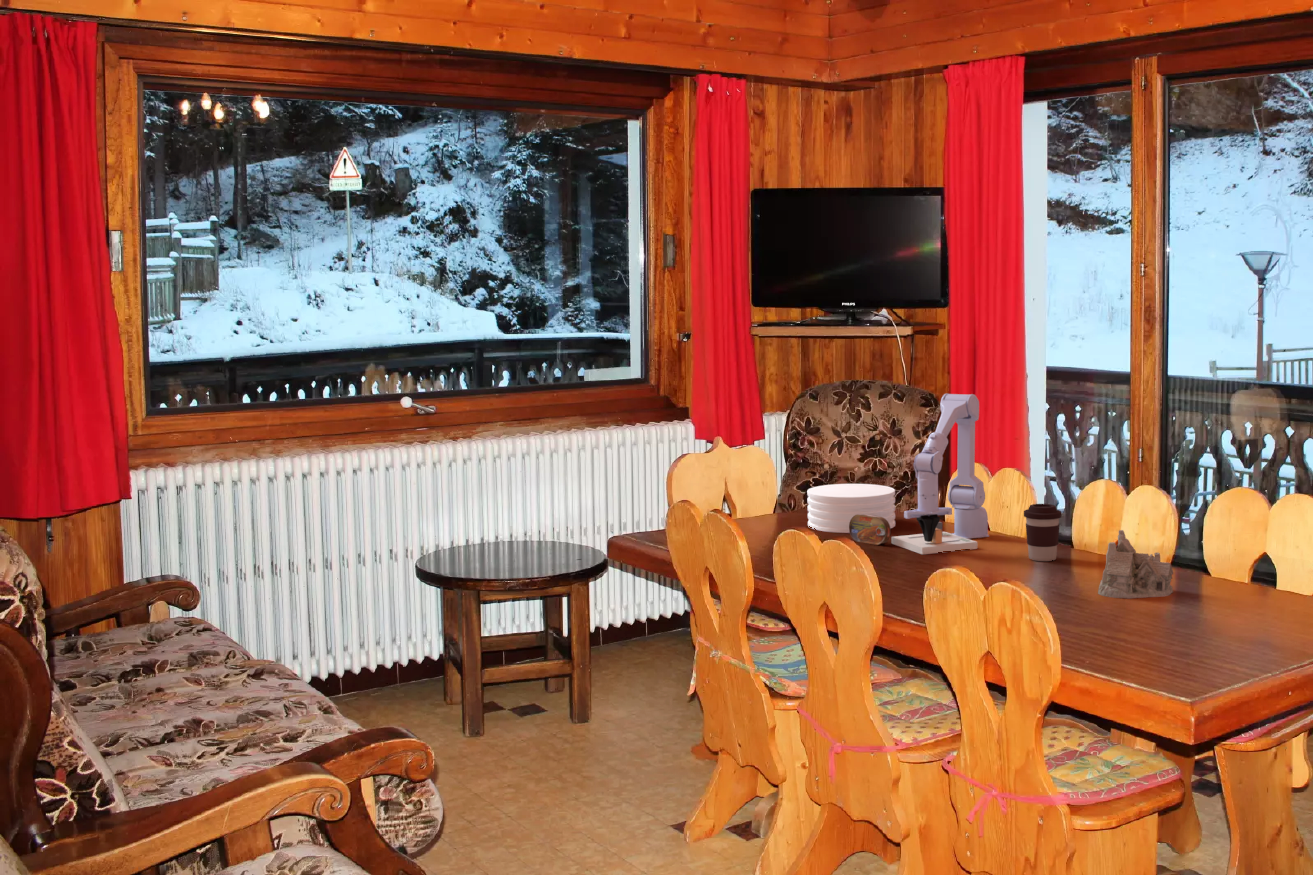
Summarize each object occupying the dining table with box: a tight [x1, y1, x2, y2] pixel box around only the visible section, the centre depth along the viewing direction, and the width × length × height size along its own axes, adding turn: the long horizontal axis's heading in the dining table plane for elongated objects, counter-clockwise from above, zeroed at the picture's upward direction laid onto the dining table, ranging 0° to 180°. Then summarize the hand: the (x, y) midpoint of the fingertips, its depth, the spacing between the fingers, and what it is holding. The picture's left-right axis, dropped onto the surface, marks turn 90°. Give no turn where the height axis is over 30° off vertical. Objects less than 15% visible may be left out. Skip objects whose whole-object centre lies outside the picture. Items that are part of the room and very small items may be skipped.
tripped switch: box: [932, 528, 943, 544], centre depth 368 cm, size 2×3×4 cm, turn 18°
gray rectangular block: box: [936, 521, 943, 535], centre depth 380 cm, size 2×3×4 cm, turn 18°
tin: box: [849, 515, 891, 546], centre depth 382 cm, size 15×3×8 cm, turn 37°
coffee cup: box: [1023, 503, 1062, 562], centre depth 351 cm, size 10×10×15 cm
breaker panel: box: [890, 531, 978, 555], centre depth 374 cm, size 18×18×2 cm
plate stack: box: [806, 483, 896, 534], centre depth 412 cm, size 28×28×12 cm
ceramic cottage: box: [1097, 529, 1174, 599], centre depth 311 cm, size 16×16×15 cm
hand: (928, 541), depth 368 cm, fingers closed
